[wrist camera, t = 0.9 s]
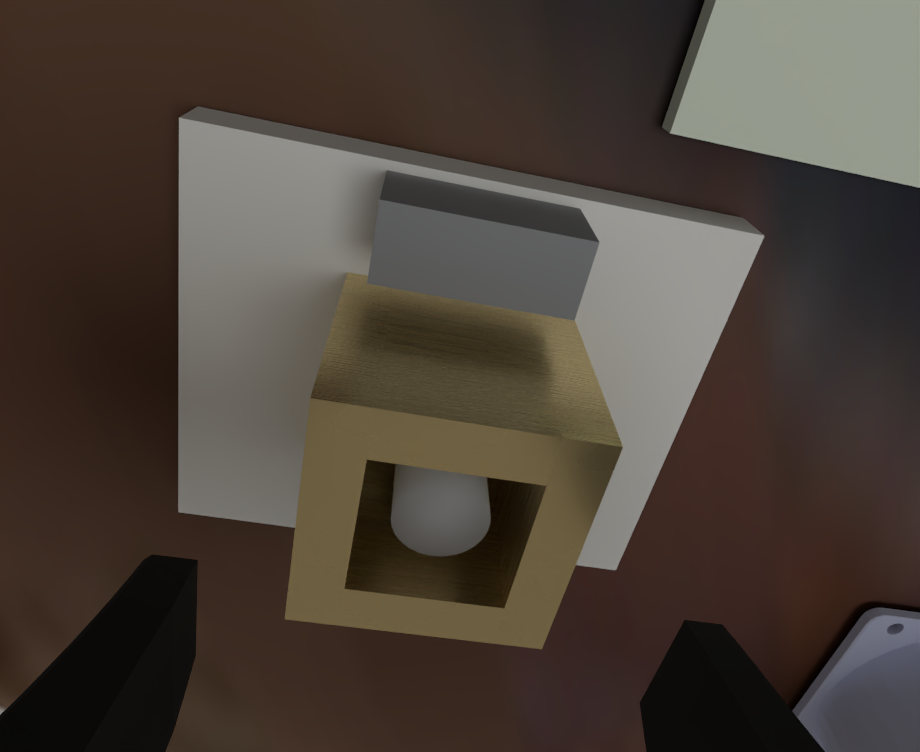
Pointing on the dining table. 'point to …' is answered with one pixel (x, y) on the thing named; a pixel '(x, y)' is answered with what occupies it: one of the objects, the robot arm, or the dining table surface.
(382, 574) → the brass collar
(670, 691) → the robot arm
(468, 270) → the block
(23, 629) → the dining table surface
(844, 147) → the sage mat
